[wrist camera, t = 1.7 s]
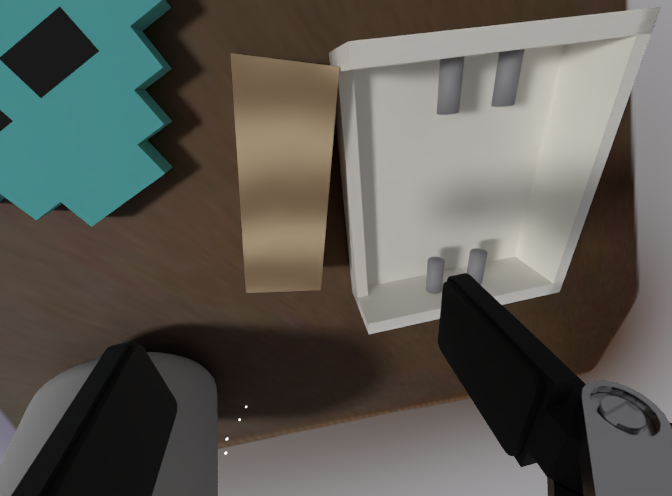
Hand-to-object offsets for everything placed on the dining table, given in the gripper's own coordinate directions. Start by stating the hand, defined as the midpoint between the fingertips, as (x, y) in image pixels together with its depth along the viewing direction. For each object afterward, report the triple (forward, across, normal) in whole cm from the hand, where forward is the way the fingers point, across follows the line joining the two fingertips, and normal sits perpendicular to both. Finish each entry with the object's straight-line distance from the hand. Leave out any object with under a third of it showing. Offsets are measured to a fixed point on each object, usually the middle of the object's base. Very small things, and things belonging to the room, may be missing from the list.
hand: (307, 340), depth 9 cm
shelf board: (+17, 0, -1) cm, 17 cm away
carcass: (+16, -13, +1) cm, 21 cm away
